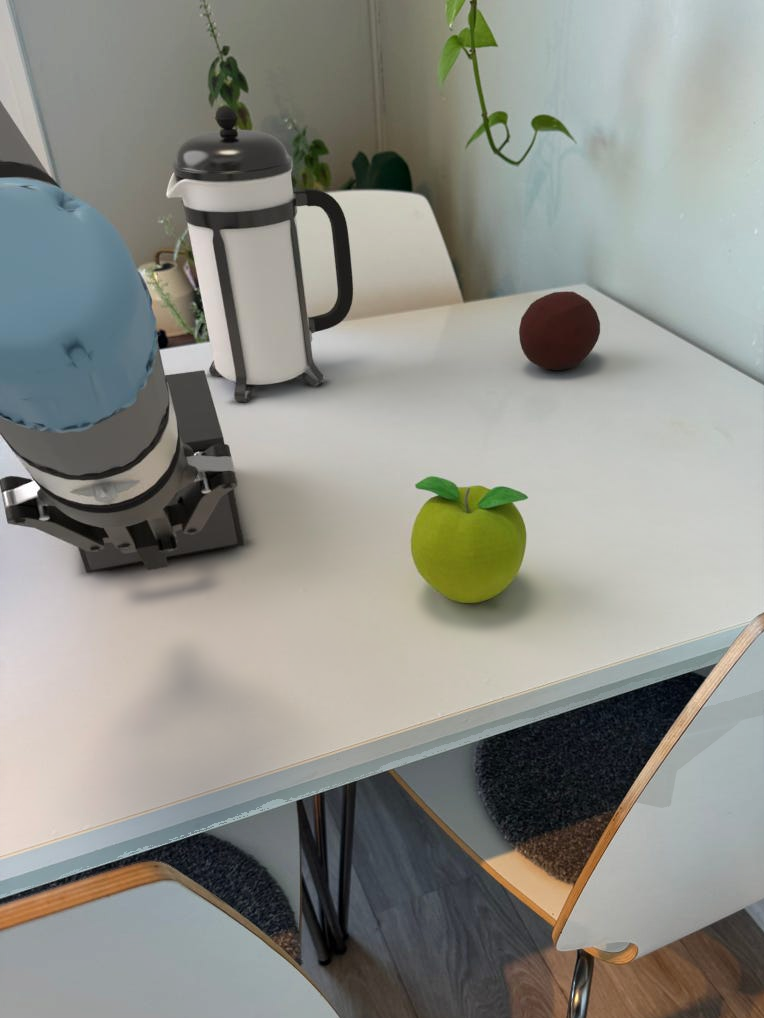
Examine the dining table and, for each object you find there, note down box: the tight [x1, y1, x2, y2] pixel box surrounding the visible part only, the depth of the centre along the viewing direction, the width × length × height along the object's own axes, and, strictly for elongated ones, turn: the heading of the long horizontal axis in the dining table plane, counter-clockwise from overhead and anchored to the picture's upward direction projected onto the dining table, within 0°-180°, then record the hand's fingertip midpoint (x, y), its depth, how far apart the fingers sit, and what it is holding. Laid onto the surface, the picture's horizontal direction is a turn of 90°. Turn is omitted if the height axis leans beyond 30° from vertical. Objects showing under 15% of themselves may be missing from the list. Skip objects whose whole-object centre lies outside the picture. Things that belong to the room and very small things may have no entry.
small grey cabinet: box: [77, 369, 245, 573], centre depth 86 cm, size 16×14×11 cm
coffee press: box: [166, 105, 354, 403], centre depth 107 cm, size 17×16×30 cm
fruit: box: [410, 475, 529, 604], centre depth 75 cm, size 9×9×10 cm
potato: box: [518, 291, 601, 371], centre depth 115 cm, size 9×12×9 cm
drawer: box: [85, 449, 237, 570], centre depth 83 cm, size 19×13×9 cm, turn 19°
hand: (154, 550), depth 68 cm, fingers closed
